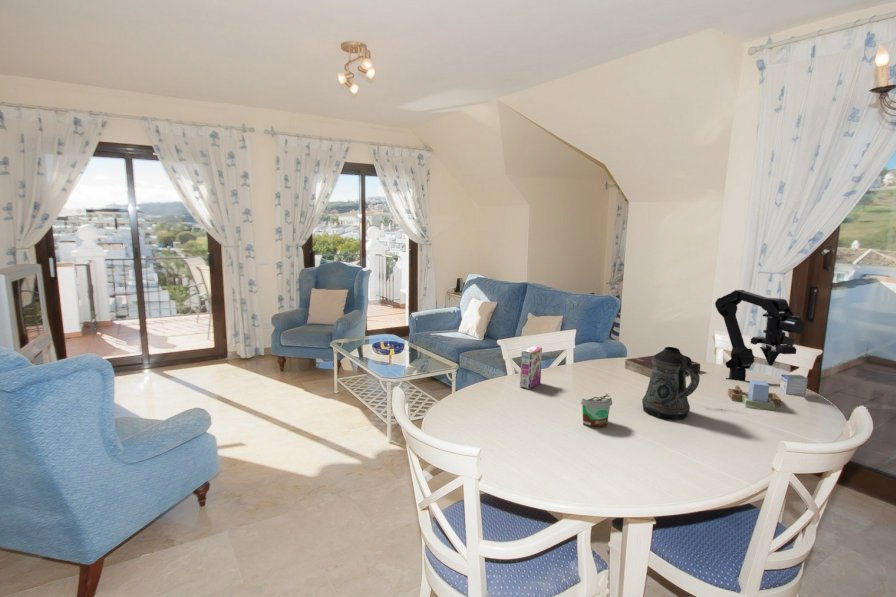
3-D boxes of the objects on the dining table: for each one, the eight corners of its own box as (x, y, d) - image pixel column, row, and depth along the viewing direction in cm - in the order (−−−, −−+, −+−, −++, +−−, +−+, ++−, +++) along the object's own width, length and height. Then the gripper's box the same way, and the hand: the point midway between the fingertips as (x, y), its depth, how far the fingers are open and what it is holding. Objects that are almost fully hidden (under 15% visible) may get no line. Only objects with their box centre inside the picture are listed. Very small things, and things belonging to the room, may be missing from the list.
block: (747, 401, 189) (750, 379, 188) (762, 403, 187) (764, 380, 186) (751, 406, 183) (753, 384, 182) (766, 408, 182) (769, 385, 180)
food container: (592, 432, 164) (594, 404, 162) (579, 425, 169) (581, 398, 168) (618, 425, 169) (620, 398, 168) (605, 419, 175) (607, 392, 173)
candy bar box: (530, 389, 206) (531, 352, 203) (519, 387, 208) (520, 350, 206) (541, 383, 215) (542, 347, 212) (531, 380, 217) (532, 345, 215)
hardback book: (654, 380, 220) (655, 369, 220) (624, 369, 238) (625, 359, 237) (699, 373, 232) (700, 363, 231) (668, 362, 249) (668, 353, 248)
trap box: (724, 393, 202) (725, 384, 202) (770, 398, 197) (771, 388, 196) (734, 409, 184) (735, 399, 184) (784, 415, 179) (786, 405, 178)
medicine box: (798, 394, 201) (801, 374, 200) (805, 398, 197) (808, 378, 195) (778, 394, 202) (781, 374, 201) (785, 397, 198) (787, 377, 196)
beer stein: (647, 400, 193) (651, 340, 189) (701, 411, 182) (706, 347, 178) (636, 413, 180) (641, 349, 176) (694, 426, 169) (700, 357, 165)
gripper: (811, 333, 191) (806, 371, 193) (775, 324, 209) (771, 358, 212) (785, 333, 190) (780, 372, 192) (751, 324, 208) (747, 359, 211)
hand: (770, 365), depth 202 cm, fingers closed
